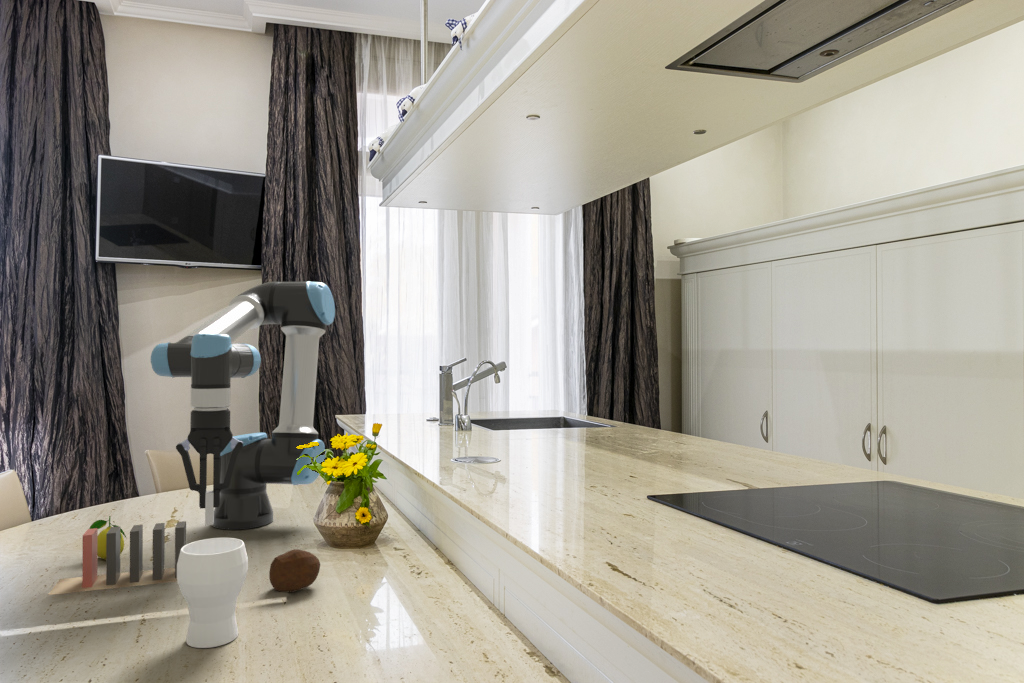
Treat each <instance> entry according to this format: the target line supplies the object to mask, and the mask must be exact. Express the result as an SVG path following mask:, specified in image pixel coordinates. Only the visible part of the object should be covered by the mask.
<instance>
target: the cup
mask: <svg viewBox="0 0 1024 683" xmlns="http://www.w3.org/2000/svg"><path fill="white" fill-rule="evenodd" d="M248 569H249V558H248V554H247V549H246V544H245V543H244V541H243V540H242V539H239V538H235V537H212V538H204V539H200V540H195V541H192V542H190V543H186V545H185V546H183V547H182V548H181V550H180V554H179V558H178V562H177V581H176V582H177V585H178V587H179V589H180V593H181V595H182V596H183V598H184V600H185V601H186V603H187V605H188V606H187V608H188V613H189V621H188V627H187V634H186V639H185V640H186V645H188V646H190V647H192V648H197V649H207V648H215V647H220V646H224V645H226V644H229V643H231V642H232V641H235V639H236V638H238V636H239V630H238V629H239V628H238V623H237V617H236V616H237V615H236V608H237V601H238V596H239V595H240V592H241V591H242V588H243V586H244V584H245V581H246V577H247V575H248V571H249V570H248Z"/></svg>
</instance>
